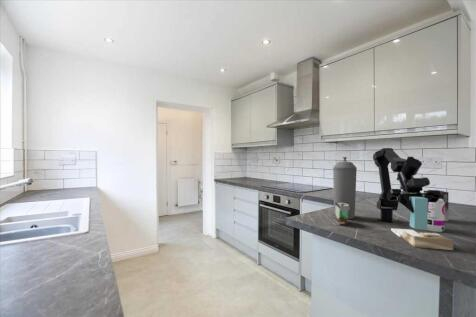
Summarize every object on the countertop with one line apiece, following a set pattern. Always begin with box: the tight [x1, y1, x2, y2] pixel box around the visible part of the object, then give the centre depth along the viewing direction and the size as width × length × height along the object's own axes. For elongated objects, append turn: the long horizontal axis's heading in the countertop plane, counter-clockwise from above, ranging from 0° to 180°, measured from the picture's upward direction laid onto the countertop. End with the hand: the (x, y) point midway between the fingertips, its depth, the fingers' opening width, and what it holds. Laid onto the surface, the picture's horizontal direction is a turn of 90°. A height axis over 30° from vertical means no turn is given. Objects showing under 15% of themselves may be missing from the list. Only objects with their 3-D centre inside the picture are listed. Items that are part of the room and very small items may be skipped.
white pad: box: [390, 228, 420, 238], centre depth 105 cm, size 9×9×1 cm
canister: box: [332, 156, 358, 220], centre depth 134 cm, size 13×13×35 cm
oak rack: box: [402, 231, 454, 251], centre depth 94 cm, size 10×13×4 cm
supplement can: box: [426, 199, 446, 233], centre depth 112 cm, size 8×8×15 cm
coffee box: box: [423, 189, 449, 222], centre depth 128 cm, size 9×6×16 cm
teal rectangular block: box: [409, 197, 428, 231], centre depth 95 cm, size 4×4×12 cm
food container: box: [334, 202, 350, 226], centre depth 123 cm, size 12×6×10 cm, turn 168°
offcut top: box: [423, 232, 444, 238], centre depth 94 cm, size 7×4×2 cm, turn 167°
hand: (420, 212), depth 94 cm, fingers closed on teal rectangular block, 4 cm apart
